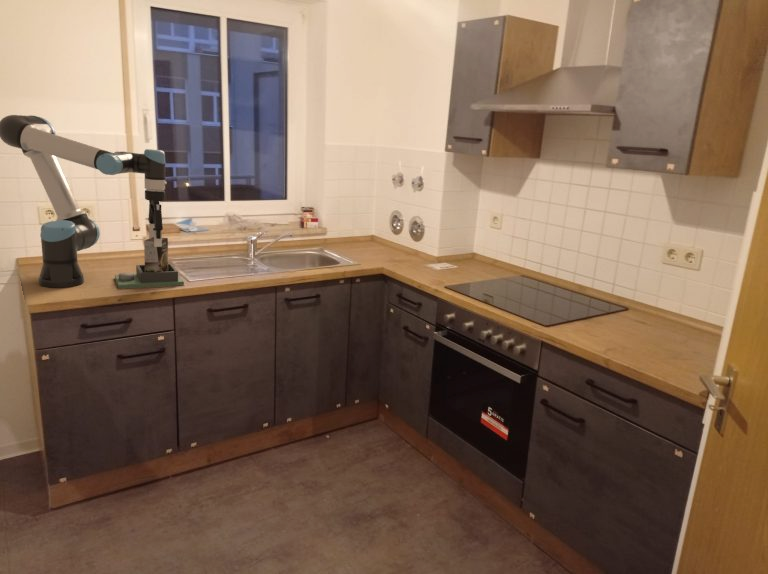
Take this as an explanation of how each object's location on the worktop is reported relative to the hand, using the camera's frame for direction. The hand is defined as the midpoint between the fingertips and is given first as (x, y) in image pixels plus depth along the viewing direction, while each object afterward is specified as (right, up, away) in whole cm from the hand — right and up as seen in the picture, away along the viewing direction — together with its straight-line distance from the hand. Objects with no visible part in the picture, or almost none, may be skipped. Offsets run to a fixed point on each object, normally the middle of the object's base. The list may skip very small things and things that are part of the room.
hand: (155, 243), depth 230 cm
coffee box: (-1, -14, +4) cm, 15 cm away
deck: (-3, -16, +3) cm, 16 cm away
